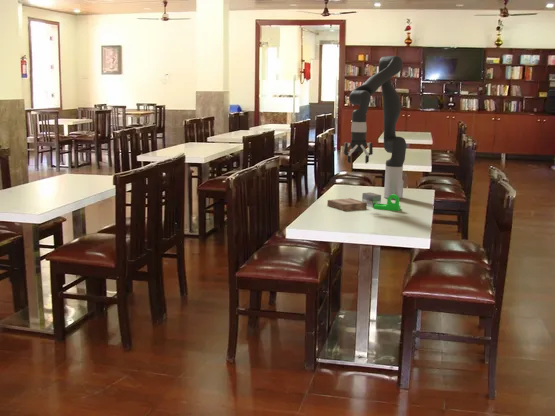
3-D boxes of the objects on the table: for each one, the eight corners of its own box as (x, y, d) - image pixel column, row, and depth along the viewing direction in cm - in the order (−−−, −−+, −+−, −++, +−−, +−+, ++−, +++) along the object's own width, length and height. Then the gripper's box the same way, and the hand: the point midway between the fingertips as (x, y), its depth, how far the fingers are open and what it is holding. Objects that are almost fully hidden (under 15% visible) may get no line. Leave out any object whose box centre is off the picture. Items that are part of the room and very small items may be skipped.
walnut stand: (350, 204, 323) (350, 198, 322) (366, 208, 311) (366, 202, 310) (327, 205, 316) (327, 200, 316) (343, 210, 304) (343, 204, 304)
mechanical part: (400, 209, 313) (401, 193, 311) (397, 211, 307) (398, 195, 306) (376, 207, 317) (377, 191, 316) (373, 209, 312) (374, 193, 310)
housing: (369, 203, 326) (370, 192, 325) (380, 206, 318) (381, 195, 317) (361, 204, 323) (362, 192, 322) (372, 207, 316) (373, 195, 315)
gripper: (371, 130, 318) (370, 162, 322) (343, 130, 318) (342, 162, 321) (374, 131, 311) (373, 164, 314) (345, 131, 310) (345, 164, 313)
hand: (357, 163), depth 317 cm, fingers open, 8 cm apart
